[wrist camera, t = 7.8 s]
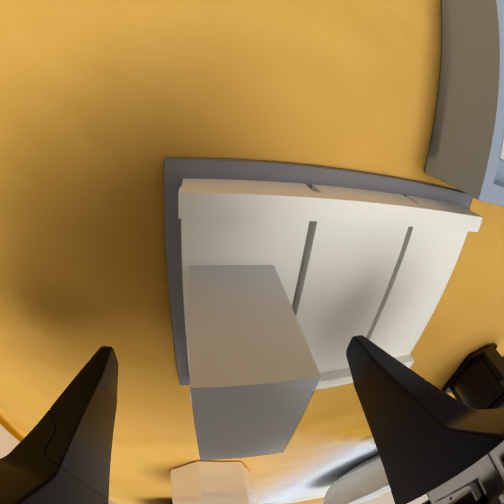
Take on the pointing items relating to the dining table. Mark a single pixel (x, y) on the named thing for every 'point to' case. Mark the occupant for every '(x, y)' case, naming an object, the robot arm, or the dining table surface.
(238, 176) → the mat
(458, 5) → the tub
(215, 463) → the jar
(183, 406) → the dining table surface
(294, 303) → the slotted white tray
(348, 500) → the serving bowl
